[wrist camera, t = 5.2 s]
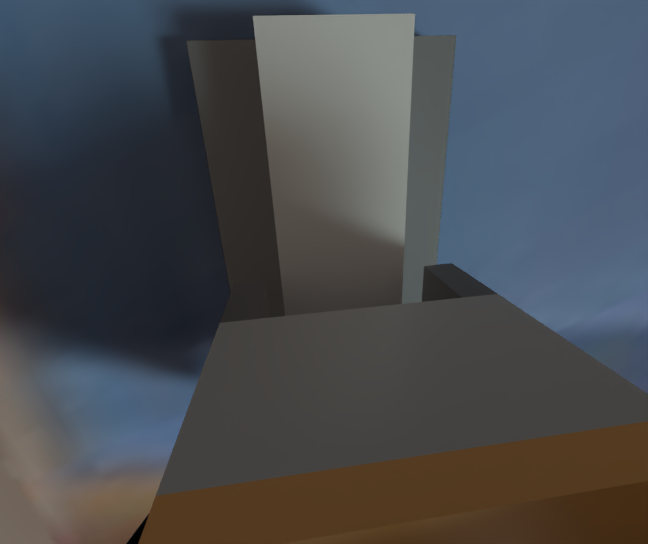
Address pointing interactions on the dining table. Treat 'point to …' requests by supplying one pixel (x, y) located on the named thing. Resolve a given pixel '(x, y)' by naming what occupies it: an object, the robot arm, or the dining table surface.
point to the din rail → (248, 161)
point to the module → (404, 430)
